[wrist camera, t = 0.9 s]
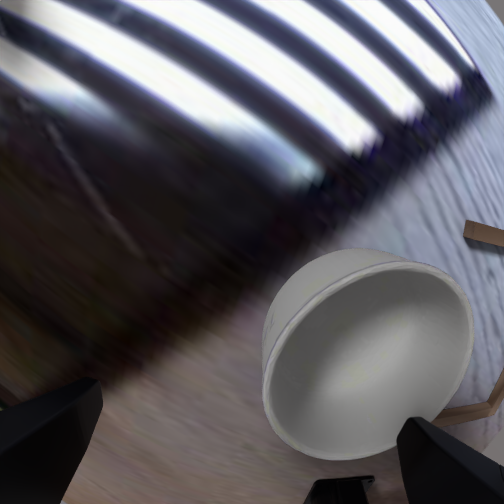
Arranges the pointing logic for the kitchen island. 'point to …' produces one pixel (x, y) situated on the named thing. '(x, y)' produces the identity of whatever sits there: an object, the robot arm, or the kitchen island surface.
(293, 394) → the teacup
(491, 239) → the frame
